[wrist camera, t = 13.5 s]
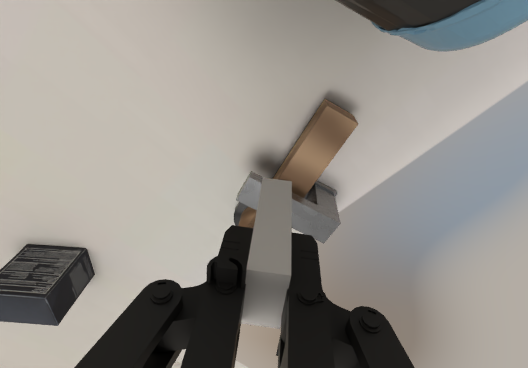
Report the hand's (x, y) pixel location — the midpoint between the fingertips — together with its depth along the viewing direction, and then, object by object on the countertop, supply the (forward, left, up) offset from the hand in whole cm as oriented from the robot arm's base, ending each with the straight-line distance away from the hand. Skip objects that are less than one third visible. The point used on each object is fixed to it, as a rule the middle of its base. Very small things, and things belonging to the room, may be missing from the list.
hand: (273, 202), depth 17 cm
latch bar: (+6, -9, -23) cm, 25 cm away
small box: (-19, -43, -25) cm, 53 cm away
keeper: (+6, -10, -24) cm, 27 cm away
